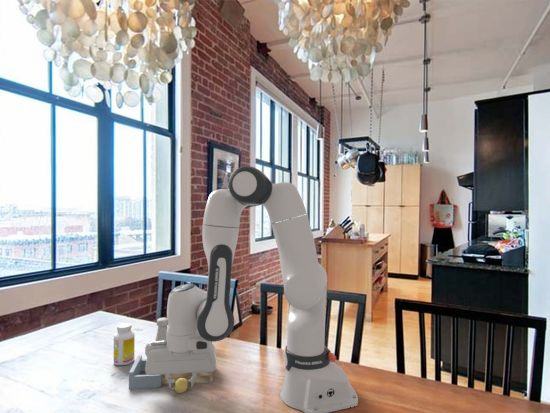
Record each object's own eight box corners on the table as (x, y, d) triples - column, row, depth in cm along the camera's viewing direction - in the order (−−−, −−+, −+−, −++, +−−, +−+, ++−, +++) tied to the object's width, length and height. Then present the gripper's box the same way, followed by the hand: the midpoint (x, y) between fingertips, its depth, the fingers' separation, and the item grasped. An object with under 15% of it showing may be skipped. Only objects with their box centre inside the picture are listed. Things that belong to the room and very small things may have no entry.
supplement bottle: (137, 357, 120) (137, 322, 120) (129, 366, 114) (129, 329, 113) (118, 357, 120) (119, 321, 120) (109, 366, 113) (110, 328, 113)
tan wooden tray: (213, 367, 114) (213, 349, 114) (212, 382, 104) (213, 363, 104) (164, 369, 112) (165, 352, 112) (159, 386, 102) (159, 366, 102)
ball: (188, 387, 101) (189, 374, 101) (187, 395, 97) (187, 381, 97) (175, 388, 101) (175, 375, 101) (173, 396, 97) (173, 382, 97)
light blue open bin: (166, 368, 112) (167, 354, 112) (160, 386, 101) (161, 370, 101) (137, 370, 111) (138, 355, 111) (128, 388, 100) (128, 372, 100)
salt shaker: (165, 357, 120) (165, 322, 120) (150, 356, 121) (151, 320, 121) (173, 350, 126) (173, 316, 126) (159, 349, 127) (159, 315, 127)
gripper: (142, 346, 94) (142, 395, 94) (216, 343, 97) (215, 390, 97) (147, 337, 100) (147, 383, 100) (216, 334, 103) (215, 378, 104)
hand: (181, 386), depth 99 cm, fingers closed on ball, 4 cm apart
